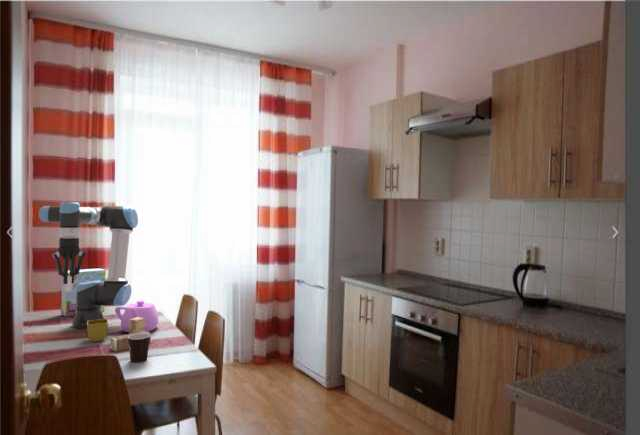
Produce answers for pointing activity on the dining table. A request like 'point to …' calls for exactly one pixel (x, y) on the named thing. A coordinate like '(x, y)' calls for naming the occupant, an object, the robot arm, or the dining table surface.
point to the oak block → (136, 325)
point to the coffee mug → (138, 347)
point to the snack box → (70, 297)
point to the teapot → (138, 315)
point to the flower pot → (97, 329)
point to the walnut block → (123, 341)
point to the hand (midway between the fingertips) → (68, 291)
